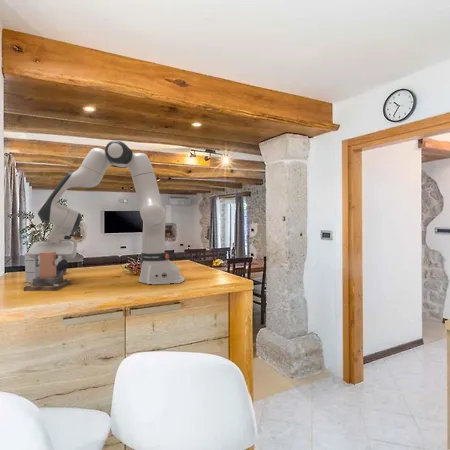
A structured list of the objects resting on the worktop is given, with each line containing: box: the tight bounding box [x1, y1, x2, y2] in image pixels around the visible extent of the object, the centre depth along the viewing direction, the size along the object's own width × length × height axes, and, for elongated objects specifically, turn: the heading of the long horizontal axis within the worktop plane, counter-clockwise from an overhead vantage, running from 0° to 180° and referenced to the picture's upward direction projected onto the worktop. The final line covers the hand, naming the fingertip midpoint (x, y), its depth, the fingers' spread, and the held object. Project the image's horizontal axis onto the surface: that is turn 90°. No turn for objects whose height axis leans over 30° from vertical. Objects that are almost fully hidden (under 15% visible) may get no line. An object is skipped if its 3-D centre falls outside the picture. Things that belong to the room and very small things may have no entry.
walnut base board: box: [23, 275, 72, 292], centre depth 144 cm, size 14×14×4 cm
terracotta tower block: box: [39, 252, 56, 279], centre depth 143 cm, size 5×5×12 cm
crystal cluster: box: [56, 259, 69, 276], centre depth 172 cm, size 13×14×10 cm
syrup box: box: [24, 252, 40, 284], centre depth 155 cm, size 6×6×14 cm
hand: (47, 264), depth 143 cm, fingers closed on terracotta tower block, 5 cm apart
